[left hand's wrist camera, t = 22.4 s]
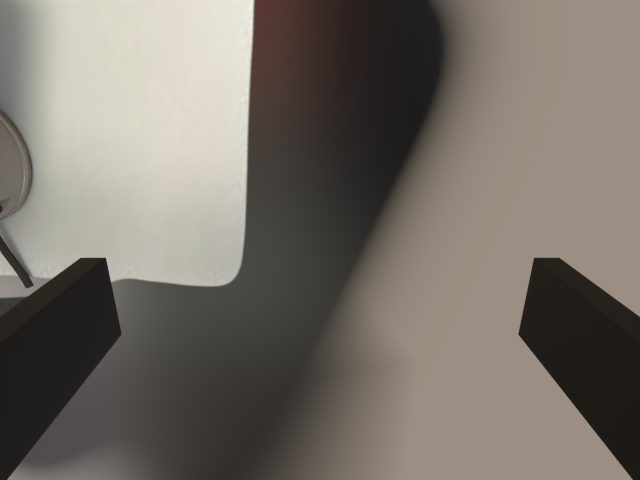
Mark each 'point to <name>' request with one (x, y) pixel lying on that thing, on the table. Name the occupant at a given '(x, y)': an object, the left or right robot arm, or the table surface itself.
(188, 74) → the table surface
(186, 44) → the table surface
